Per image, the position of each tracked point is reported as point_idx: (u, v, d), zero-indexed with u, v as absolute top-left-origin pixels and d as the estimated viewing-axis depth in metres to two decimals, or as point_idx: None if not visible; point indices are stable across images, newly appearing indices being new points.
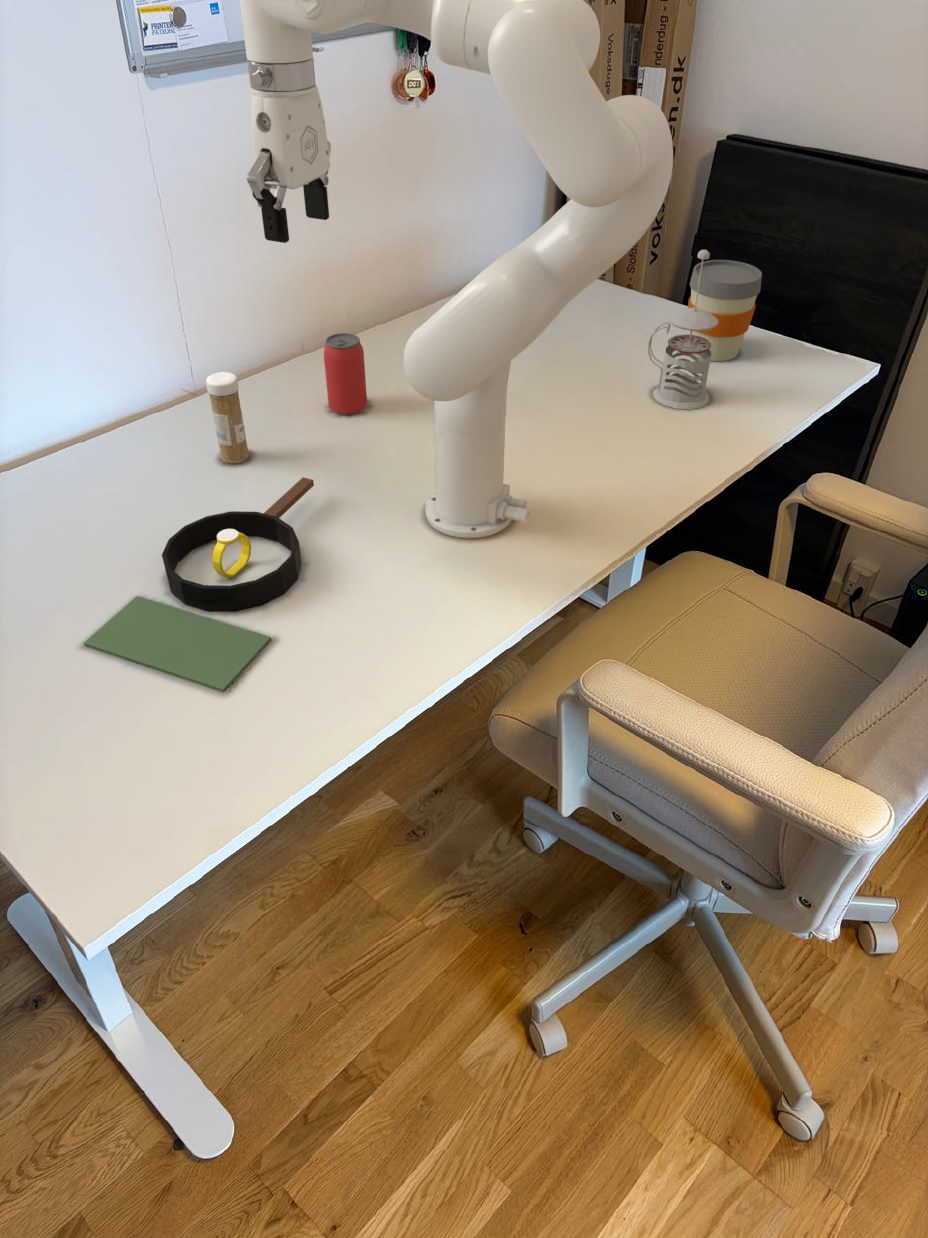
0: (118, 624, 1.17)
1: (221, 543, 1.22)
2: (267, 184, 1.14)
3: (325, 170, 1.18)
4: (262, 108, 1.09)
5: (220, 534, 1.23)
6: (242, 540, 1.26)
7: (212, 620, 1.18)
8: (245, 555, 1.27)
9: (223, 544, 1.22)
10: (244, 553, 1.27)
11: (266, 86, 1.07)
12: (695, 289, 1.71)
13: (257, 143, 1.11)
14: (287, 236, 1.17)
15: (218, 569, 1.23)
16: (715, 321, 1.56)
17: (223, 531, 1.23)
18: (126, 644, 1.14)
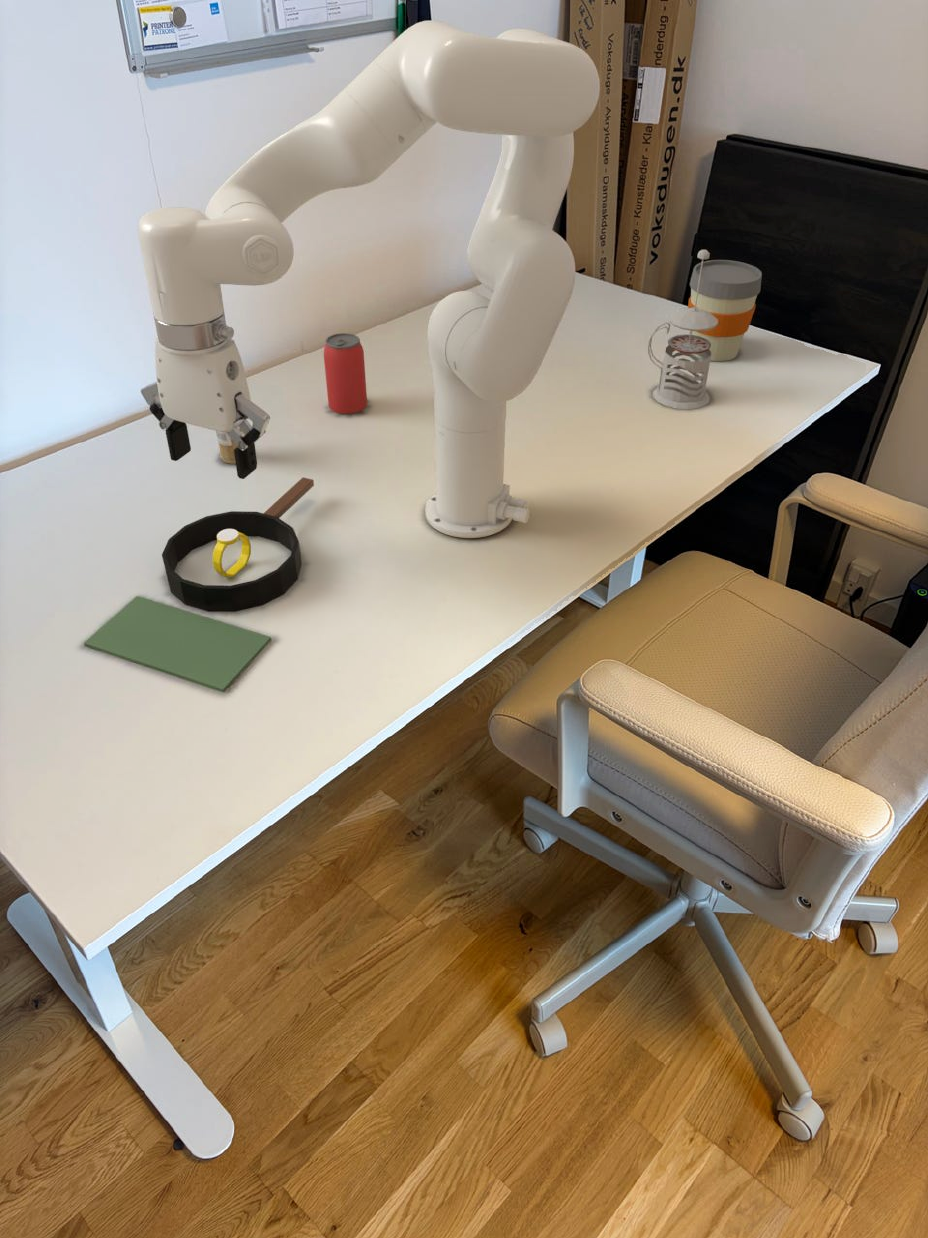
0: (118, 624, 1.17)
1: (221, 543, 1.22)
2: (235, 427, 1.11)
3: None
4: (229, 358, 1.06)
5: (220, 534, 1.23)
6: (242, 540, 1.26)
7: (212, 620, 1.18)
8: (245, 555, 1.27)
9: (223, 544, 1.22)
10: (244, 553, 1.27)
11: None
12: (695, 289, 1.71)
13: (230, 393, 1.07)
14: None
15: (218, 569, 1.23)
16: (715, 321, 1.56)
17: (223, 531, 1.23)
18: (126, 644, 1.14)
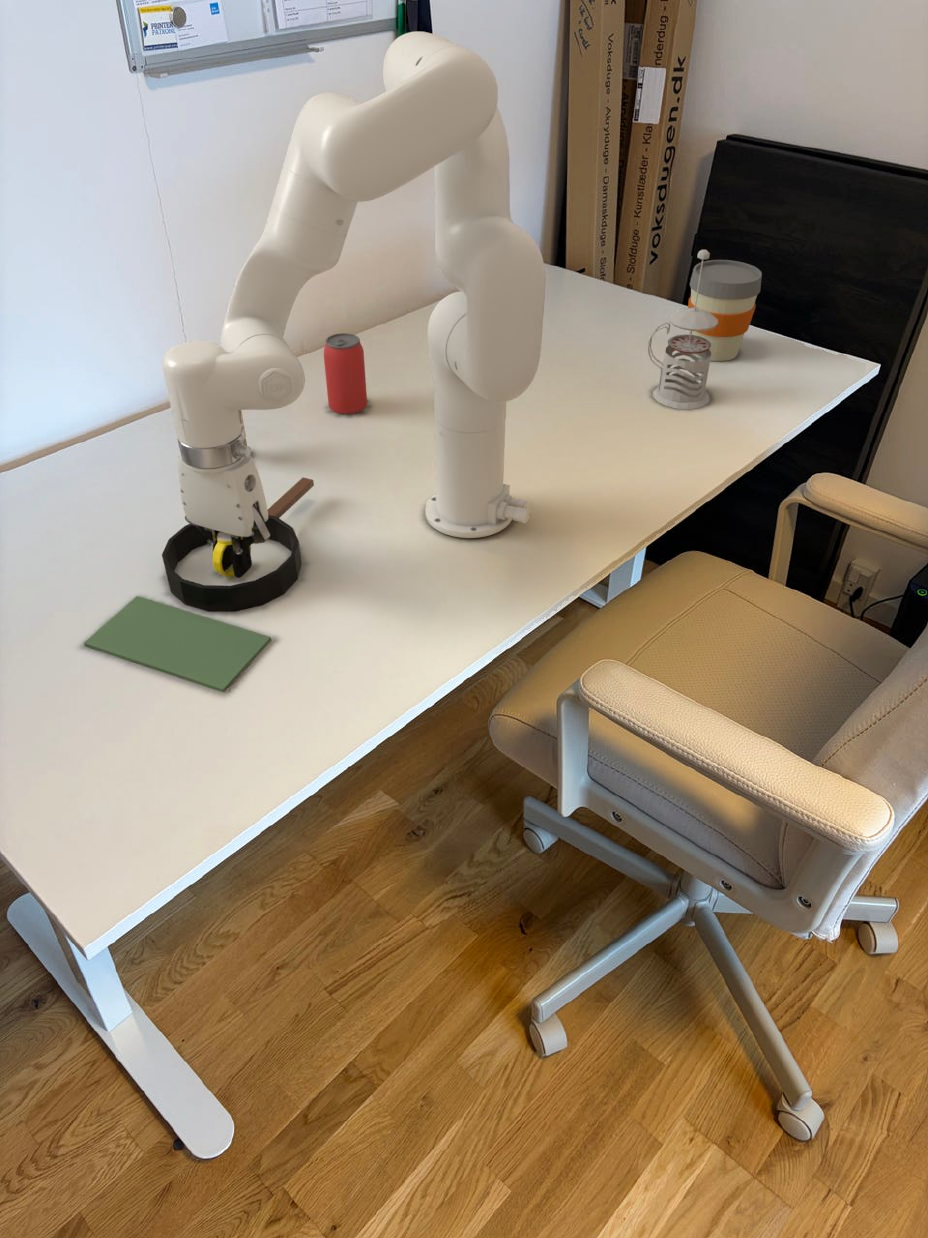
0: (118, 624, 1.17)
1: (221, 543, 1.22)
2: (240, 535, 1.21)
3: None
4: (247, 473, 1.15)
5: (220, 534, 1.23)
6: None
7: (212, 620, 1.18)
8: None
9: (223, 544, 1.22)
10: None
11: None
12: (695, 289, 1.71)
13: (248, 504, 1.16)
14: None
15: (218, 569, 1.23)
16: (715, 321, 1.56)
17: None
18: (126, 644, 1.14)
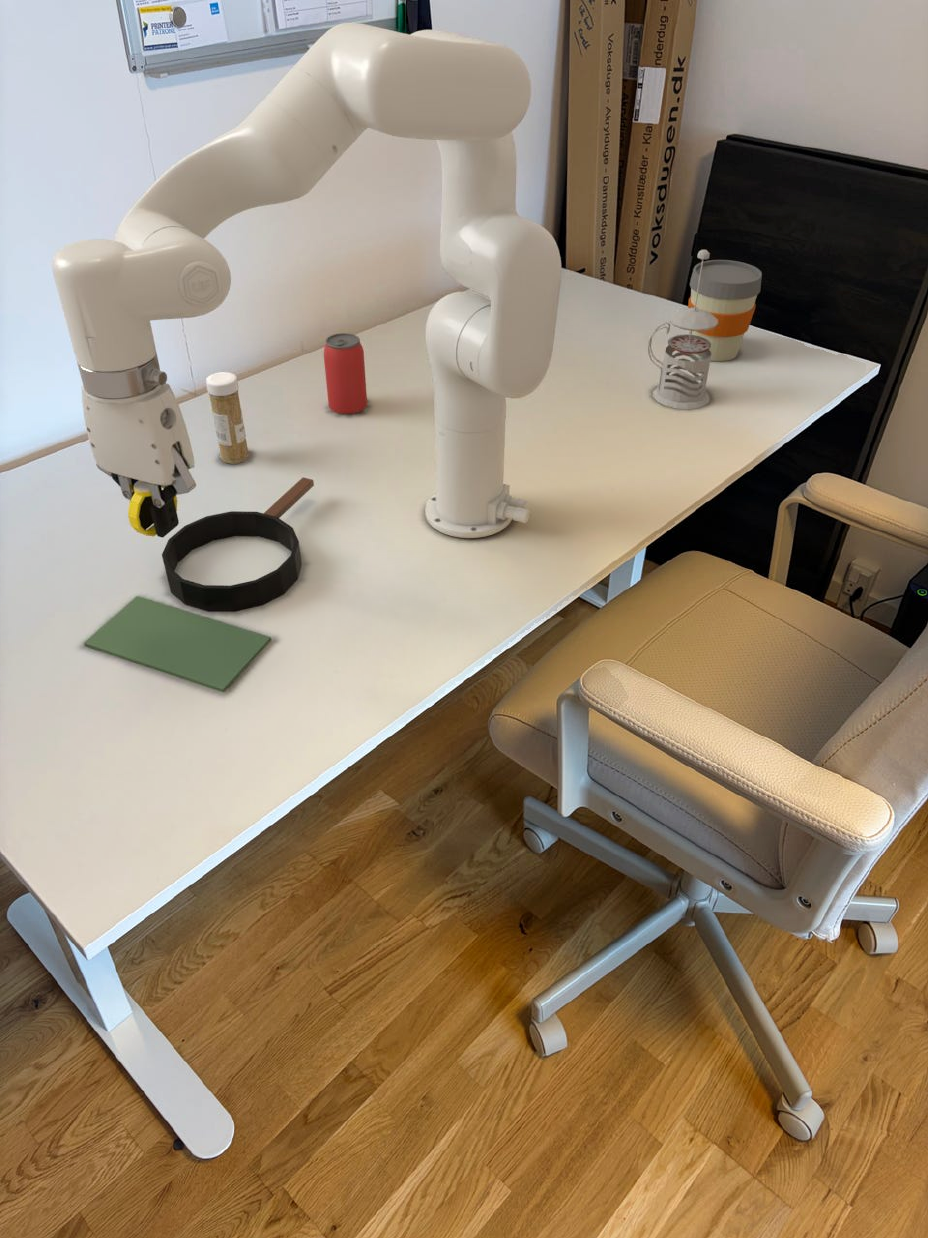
0: (118, 624, 1.17)
1: (138, 494, 1.02)
2: (160, 484, 1.01)
3: None
4: (163, 406, 0.95)
5: (138, 484, 1.03)
6: None
7: (212, 620, 1.18)
8: None
9: (140, 495, 1.02)
10: None
11: None
12: (695, 289, 1.71)
13: (166, 444, 0.96)
14: (176, 518, 1.07)
15: (135, 526, 1.03)
16: (715, 321, 1.56)
17: None
18: (126, 644, 1.14)
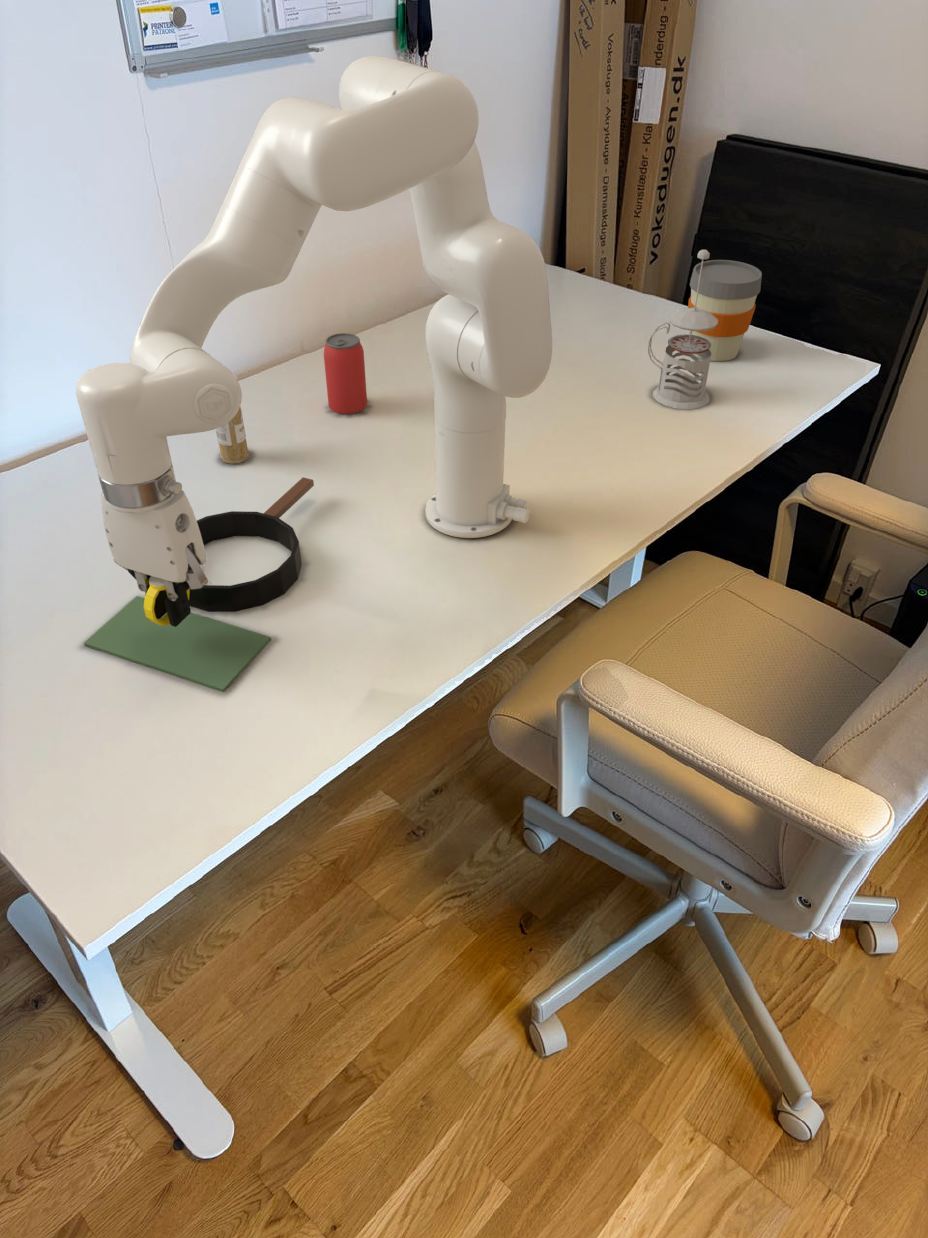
0: (118, 624, 1.17)
1: (153, 588, 1.08)
2: None
3: None
4: (178, 512, 1.01)
5: (153, 578, 1.09)
6: None
7: (212, 620, 1.18)
8: None
9: (155, 589, 1.08)
10: None
11: None
12: (695, 289, 1.71)
13: (181, 546, 1.03)
14: None
15: (150, 617, 1.10)
16: (715, 321, 1.56)
17: None
18: (126, 644, 1.14)
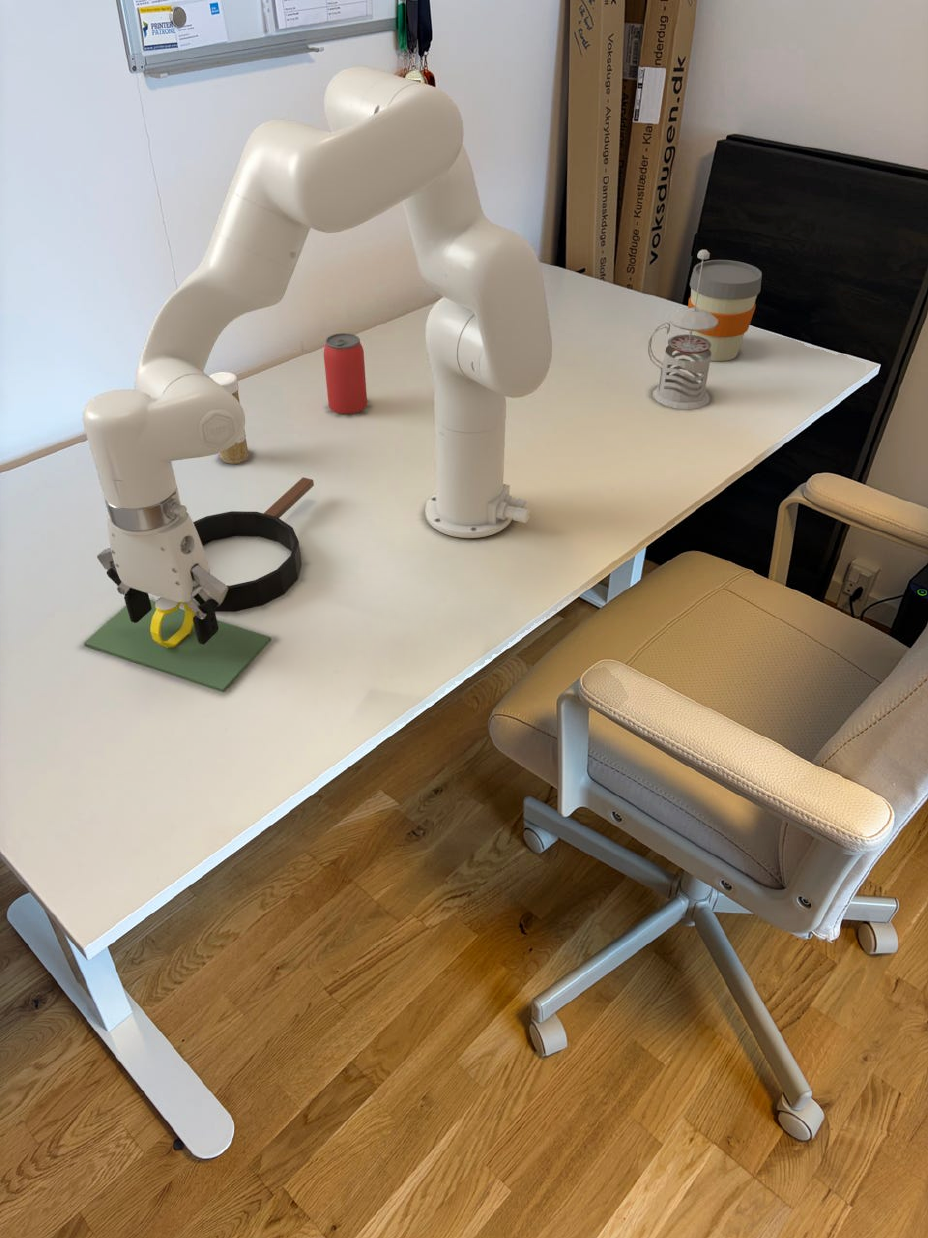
0: (118, 624, 1.17)
1: (160, 612, 1.10)
2: None
3: None
4: (183, 534, 1.03)
5: (159, 601, 1.11)
6: (185, 606, 1.15)
7: None
8: (189, 622, 1.16)
9: (161, 612, 1.11)
10: (188, 620, 1.16)
11: None
12: (695, 289, 1.71)
13: (186, 567, 1.04)
14: (216, 624, 1.13)
15: (157, 640, 1.12)
16: (715, 321, 1.56)
17: (162, 598, 1.12)
18: (126, 644, 1.14)
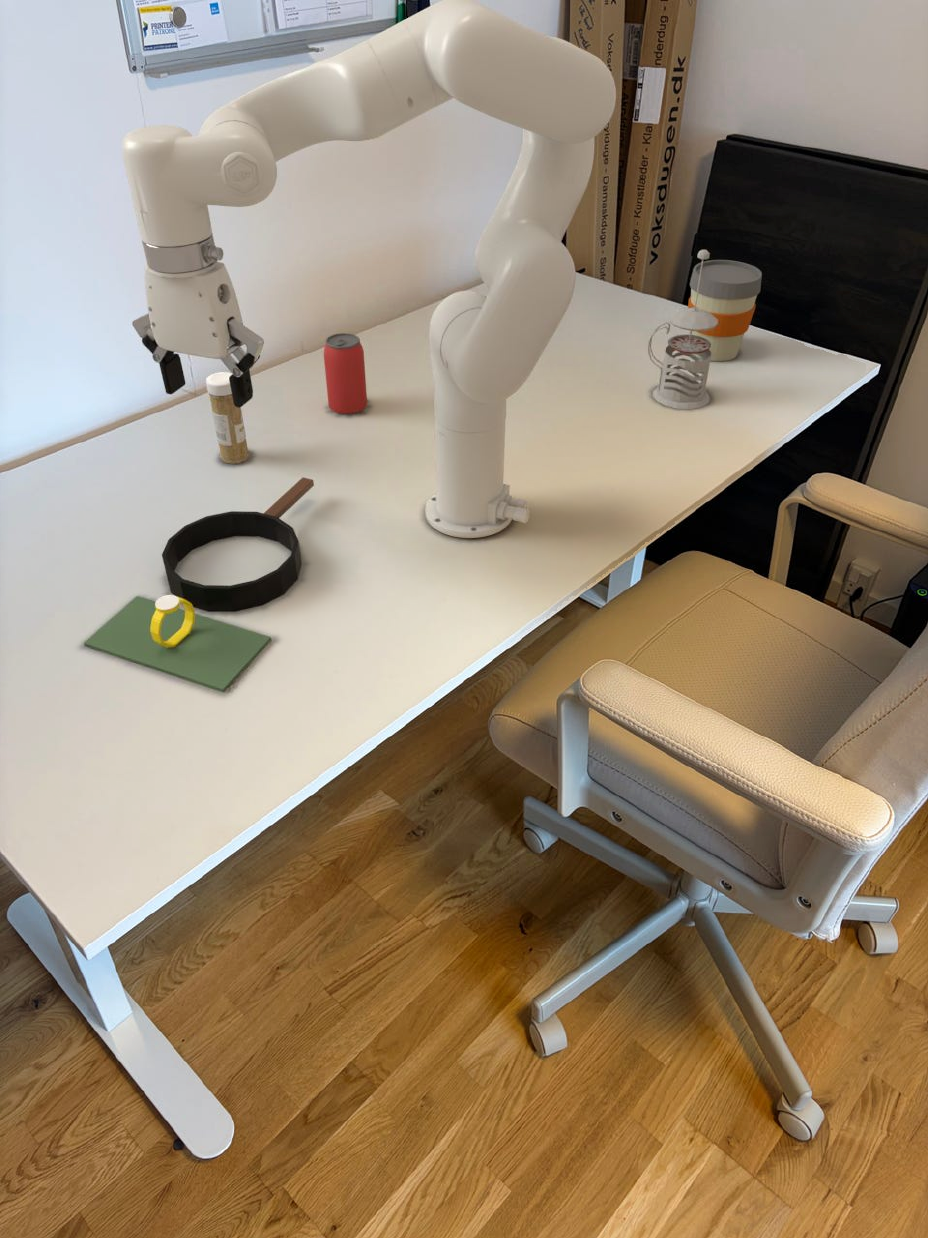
0: (118, 624, 1.17)
1: (160, 612, 1.10)
2: (229, 353, 1.10)
3: None
4: (220, 281, 1.05)
5: (159, 601, 1.11)
6: (185, 606, 1.15)
7: (212, 620, 1.18)
8: (189, 622, 1.16)
9: (161, 612, 1.11)
10: (188, 620, 1.16)
11: None
12: (695, 289, 1.71)
13: (222, 317, 1.07)
14: None
15: (157, 640, 1.12)
16: (715, 321, 1.56)
17: (162, 598, 1.12)
18: (126, 644, 1.14)
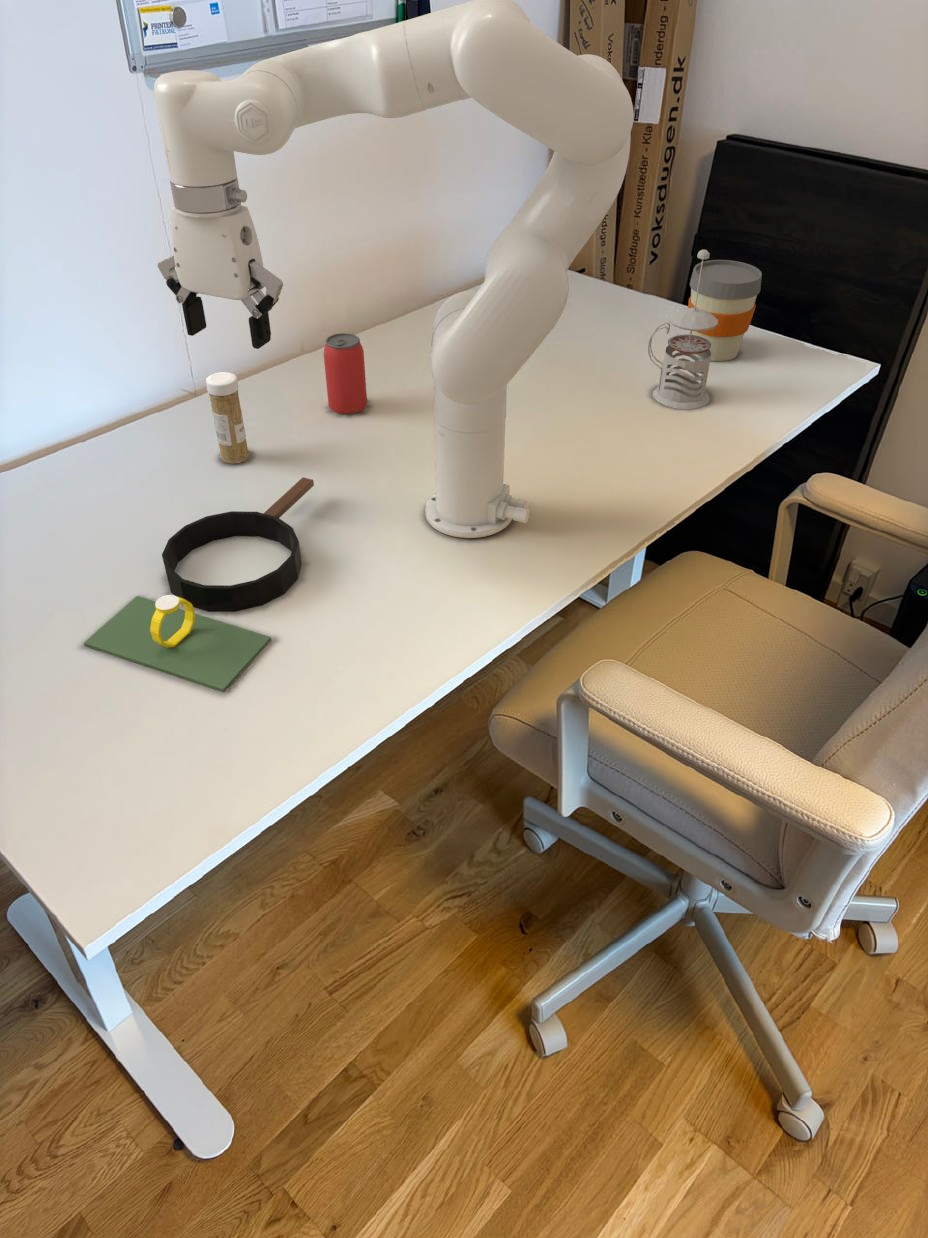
0: (118, 624, 1.17)
1: (160, 612, 1.10)
2: (250, 295, 1.15)
3: None
4: (243, 223, 1.10)
5: (159, 601, 1.11)
6: (185, 606, 1.15)
7: (212, 620, 1.18)
8: (189, 622, 1.16)
9: (161, 612, 1.11)
10: (188, 620, 1.16)
11: (238, 201, 1.09)
12: (695, 289, 1.71)
13: (244, 259, 1.11)
14: None
15: (157, 640, 1.12)
16: (715, 321, 1.56)
17: (162, 598, 1.12)
18: (126, 644, 1.14)
